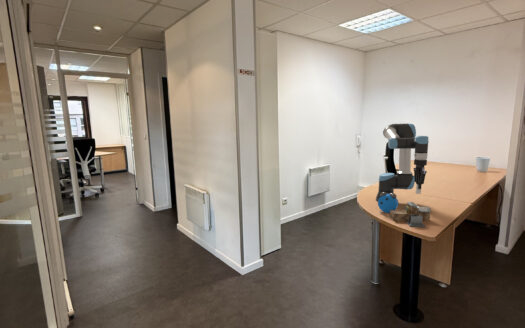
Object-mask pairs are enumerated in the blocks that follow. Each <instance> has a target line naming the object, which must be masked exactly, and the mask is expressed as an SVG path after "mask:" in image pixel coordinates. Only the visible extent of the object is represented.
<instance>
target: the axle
mask: <svg viewBox="0 0 525 328" xmlns="http://www.w3.org/2000/svg"><path fill="white" fill-rule="evenodd" d="M417 213H430V214H431V207H430V206H418V210H417Z"/></svg>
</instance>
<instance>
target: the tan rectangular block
mask: <svg viewBox="0 0 525 328" xmlns="http://www.w3.org/2000/svg"><path fill="white" fill-rule="evenodd" d="M404 210H405V212H406V213H410V206H407V205H405V206H404Z"/></svg>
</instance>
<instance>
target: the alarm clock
mask: <svg viewBox="0 0 525 328" xmlns="http://www.w3.org/2000/svg"><path fill="white" fill-rule="evenodd" d="M380 196H382V197H380V198H379V200H378V201H377V206H378V208H379V209H380V210H381V211H382V212H384V213H386V214H387V213H388V214H390V210H398V209H397V208H398V206H399V199H398V198H397V194H396V193H391V194H389V193H388V194H387V193H386V192H382V193H381V194H380Z"/></svg>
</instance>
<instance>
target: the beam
mask: <svg viewBox="0 0 525 328" xmlns="http://www.w3.org/2000/svg"><path fill="white" fill-rule="evenodd" d="M406 203H407V204H406V206H410V213H406V212H405V209H395V210H390V213H389V218H390V219H392V221H397V222H406V221H409V215H421V217H423V219H422V221H430V220H431V219H430V218H431V212H430V213H417V210H418V207H419V206H418V205H417V203H415V202H414V201H407V202H406Z"/></svg>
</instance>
